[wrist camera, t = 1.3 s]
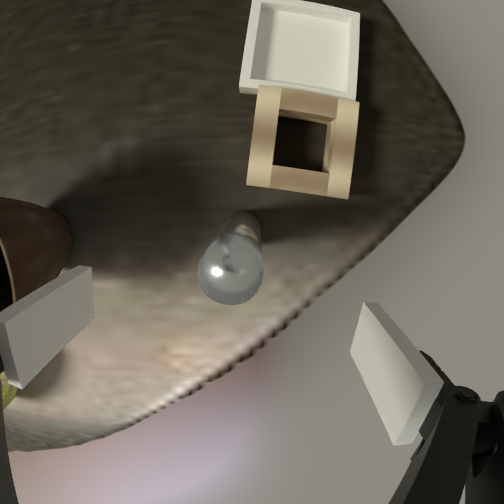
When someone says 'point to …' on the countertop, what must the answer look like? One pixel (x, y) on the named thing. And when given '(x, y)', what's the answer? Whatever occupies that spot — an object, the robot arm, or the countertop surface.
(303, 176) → the beige square frame
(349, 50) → the tray
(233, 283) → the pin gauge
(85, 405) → the countertop surface
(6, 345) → the robot arm
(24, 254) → the plant pot
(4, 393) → the lettuce
